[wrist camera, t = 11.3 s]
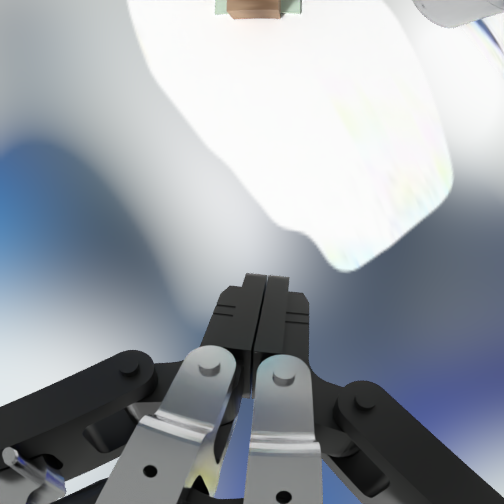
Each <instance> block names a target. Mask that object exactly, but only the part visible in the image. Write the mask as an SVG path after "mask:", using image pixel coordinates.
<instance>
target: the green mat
mask: <svg viewBox="0 0 504 504" xmlns="http://www.w3.org/2000/svg"><path fill="white" fill-rule="evenodd" d="M226 10H227V0H216V2H215V15H219V14H229V13H228V12H227V11H226ZM281 13H294V14H300V0H281Z"/></svg>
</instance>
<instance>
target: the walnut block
mask: <svg viewBox="0 0 504 504" xmlns="http://www.w3.org/2000/svg"><path fill="white" fill-rule="evenodd" d="M226 11H227V12H228V13H229V14H230V16H231V17H232V18H233V19H250V18H276V19H280V14H281V0H227V10H226Z"/></svg>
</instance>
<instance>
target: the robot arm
mask: <svg viewBox="0 0 504 504" xmlns="http://www.w3.org/2000/svg"><path fill="white" fill-rule="evenodd" d="M413 2H414V4H415V6H416V7H417V8H418V10H419V11H420V12H421V13H422V14H423V15H424V16H425V17H426V18H428V19H429V20H430V21H432V22H433V23H435V24H437V25H439V26H442V27H446V28H454V27H458V26H461V25H464V24H467V23H470V22H473V21H476V20H479V19H482V18H486V17H489V16H492V15H496V14H499V13H503V12H504V0H413ZM288 286H289V277H281V276H271V275H270V276H268V281H267V275H260V274H249V273H246V276H245V279H244V282H243V285H242V287H237V286H229V287H228V288H227V289H226V290H225V291H223V292H222V293H221V294H220V297H219V299H218V302H217V306H216V307H215V309H214V312H213V315H212V317H211V319H210V322H209V325H208V327H207V330H206V332H205V335H204V337H203V340H202V342H201V345H200V347H199V348H196V349H194V350H193V351H191V352H190V353H189V354H188V355H187V356H186V358H185V359H184V360H182V361H179V362H172V363H155V364H154V363H153V360H152V359H151V357H150V356H149V355H147V354H146V353H144V352H142V351H138V350H128V351H123V352H121V353H118V354H116V355H114V356H112V357H110V358H108V359H106V360H104V361H102V362H100V363H98V364H95V365H93V366H91V367H89V368H87V369H85V370H83V371H80V372H78V373H76V374H74V375H72V376H69V377H67V378H65V379H63V380H61V381H59V382H56V383H54V384H52V385H50V386H47V387H45V388H43V389H41V390H39V391H36V392H34V393H32V394H29V395H27V396H25V397H23V398H20V399H18V400H16V401H13V402H11V403H9V404H6V405H4V406H1V407H0V504H323V497H322V495H323V492H322V461H321V458H322V459H323V460H324V462H325V463H326V464H327V465H328V466H329V467H330V468H331V470H332V471H333V472H334V473H335V474H336V475H337V476H338V478H339V479H340V480H341V481H342V482H343V483H344V484H345V485H346V486H347V487H348V488H349V490H350V491H351V492H352V493H353V494H354V495H355V496H356V497H357V498H358V499H359V500H360V501H361V503H363V504H504V498H503V497H502V496H501V495H500V494H499V493H498V492H497V491H495V490H494V489H493V488H492V487H491V486H490V485H488V484H487V483H486V482H485V481H484V480H483V479H482V478H481V477H480V476H478V475H477V474H476V473H475V472H474V471H473V470H472V469H471V468H469V467H468V466H467V465H466V464H465V463H464V462H463V461H462V460H461V459H459V458H458V457H457V456H456V455H455V454H454V453H453V452H452V451H451V450H449V449H448V448H447V447H446V446H445V445H444V444H443V443H442V442H441V441H440V440H438V439H437V438H436V437H435V436H434V435H433V434H432V433H431V432H430V431H428V430H427V429H426V428H425V427H424V426H423V425H422V424H421V423H420V422H419V421H418V420H416V419H415V418H414V417H413V416H412V415H411V414H410V413H409V412H408V411H407V410H405V409H404V408H403V407H402V406H401V405H400V404H399V403H398V402H397V401H396V400H395V399H394V398H392V397H391V396H390V395H389V394H388V393H387V392H386V391H385V390H384V389H383V388H381V387H380V386H379V385H377V384H375V383H373V382H369V381H354V382H352V383H349V384H347V385H346V386H345V387H341V386H338V385H335V384H332V383H329V382H326V381H324V380H322V379H321V378H319V377H318V376H317V375H316V374H315V373H314V372H313V371H312V369H311V367H310V365H309V359H308V357H309V355H308V354H309V302H308V300H307V299H306V297H305V295H304V294H303V293H298V292H288ZM251 389H252V399H254V409H253V420H252V431H251V439H250V446H249V455H248V465H247V474H246V483H245V493H244V498H240V499H216V498H214V495H215V492H216V489H217V486H218V482H219V477H220V470H221V466H222V463H223V460H224V457H225V454H226V451H227V448H228V445H229V442H230V439H231V436H232V433H233V430H234V427H235V424H236V421H237V416H238V412H239V408H240V404H241V399H242V398H250V394H251ZM119 456H120V458H119V460H118V461H117V463H116V465H115V467H114V469H113V471H112V473H111V474H110V476H109V478H105V479H102V480H99V481H97V482H95V483H93V484H91V485H89V486H87V487H85V488H83V489H81V490H79V491H77V492H75V493H72V494H70V495H68V496H66V497H64V496H65V494H66V488H65V481H67V480H69V479H72V478H74V477H77V476H79V475H81V474H83V473H86V472H88V471H90V470H92V469H95V468H97V467H99V466H101V465H103V464H105V463H107V462H109V461H111V460H113V459H115V458H117V457H119ZM61 497H63V498H61ZM58 498H61V499H59V500H57V499H58ZM55 500H57V501H55Z"/></svg>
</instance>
